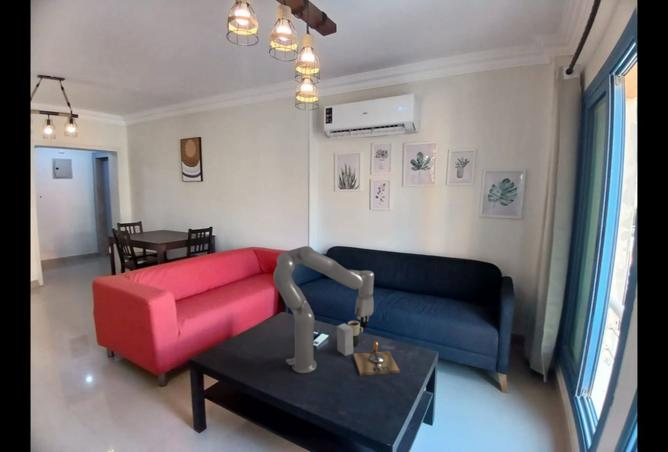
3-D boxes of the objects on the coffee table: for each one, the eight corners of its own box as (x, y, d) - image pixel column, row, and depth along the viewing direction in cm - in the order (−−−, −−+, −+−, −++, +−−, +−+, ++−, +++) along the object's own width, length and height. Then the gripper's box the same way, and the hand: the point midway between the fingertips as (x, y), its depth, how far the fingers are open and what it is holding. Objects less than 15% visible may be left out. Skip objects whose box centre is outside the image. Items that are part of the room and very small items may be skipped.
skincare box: (353, 353, 175) (353, 328, 173) (344, 356, 172) (345, 330, 170) (344, 347, 182) (345, 322, 180) (336, 350, 178) (336, 325, 177)
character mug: (363, 342, 187) (364, 321, 185) (361, 348, 180) (362, 326, 179) (345, 340, 190) (346, 319, 188) (343, 345, 183) (343, 324, 181)
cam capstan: (387, 370, 156) (387, 358, 155) (371, 370, 156) (371, 358, 155) (382, 351, 174) (382, 341, 173) (368, 351, 174) (368, 340, 173)
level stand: (360, 375, 155) (360, 372, 154) (353, 356, 172) (353, 352, 172) (399, 372, 157) (399, 369, 157) (388, 353, 175) (388, 350, 174)
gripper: (370, 289, 173) (368, 321, 175) (350, 295, 163) (348, 328, 165) (380, 293, 167) (378, 326, 169) (360, 299, 157) (359, 334, 159)
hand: (363, 327), depth 167 cm, fingers closed
